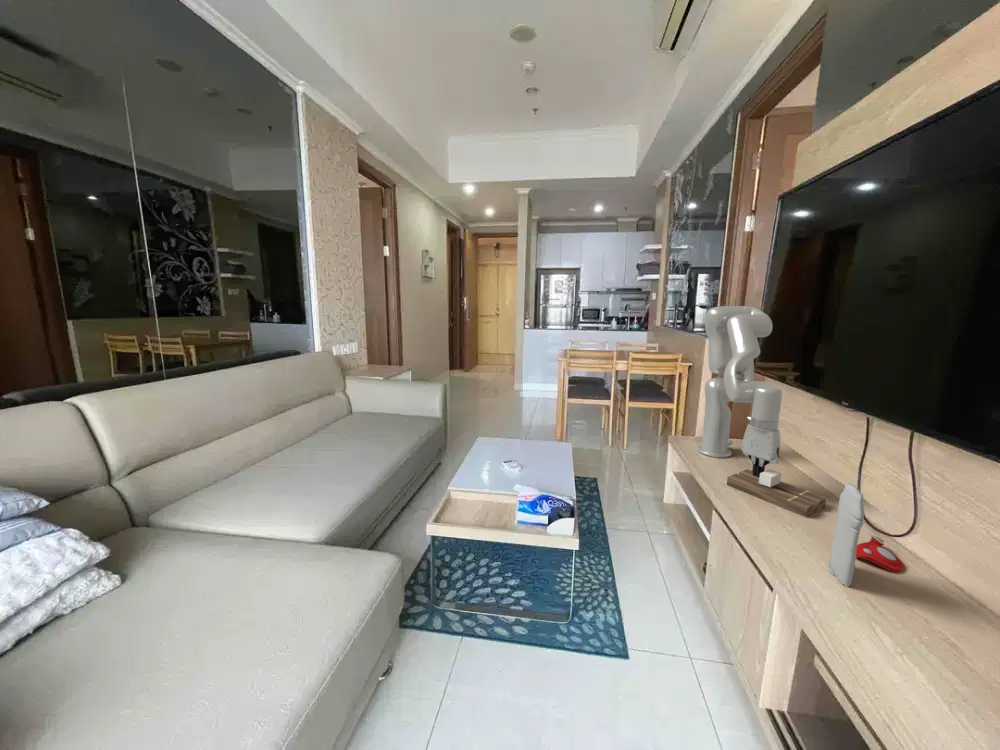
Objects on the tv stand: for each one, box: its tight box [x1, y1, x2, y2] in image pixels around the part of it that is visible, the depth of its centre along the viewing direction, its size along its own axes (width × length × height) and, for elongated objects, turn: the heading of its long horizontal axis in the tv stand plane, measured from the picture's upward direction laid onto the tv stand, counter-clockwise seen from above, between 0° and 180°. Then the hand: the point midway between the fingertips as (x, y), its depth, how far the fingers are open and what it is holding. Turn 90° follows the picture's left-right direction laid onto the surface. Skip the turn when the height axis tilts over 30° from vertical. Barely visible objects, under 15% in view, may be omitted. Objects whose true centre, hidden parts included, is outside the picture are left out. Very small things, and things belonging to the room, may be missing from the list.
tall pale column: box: [828, 482, 865, 587], centre depth 93 cm, size 11×4×22 cm, turn 157°
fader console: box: [726, 468, 827, 518], centre depth 132 cm, size 12×24×3 cm, turn 30°
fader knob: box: [759, 468, 782, 487], centre depth 133 cm, size 6×4×5 cm, turn 120°
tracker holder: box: [856, 533, 905, 574], centre depth 101 cm, size 12×4×10 cm
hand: (757, 475), depth 136 cm, fingers closed
